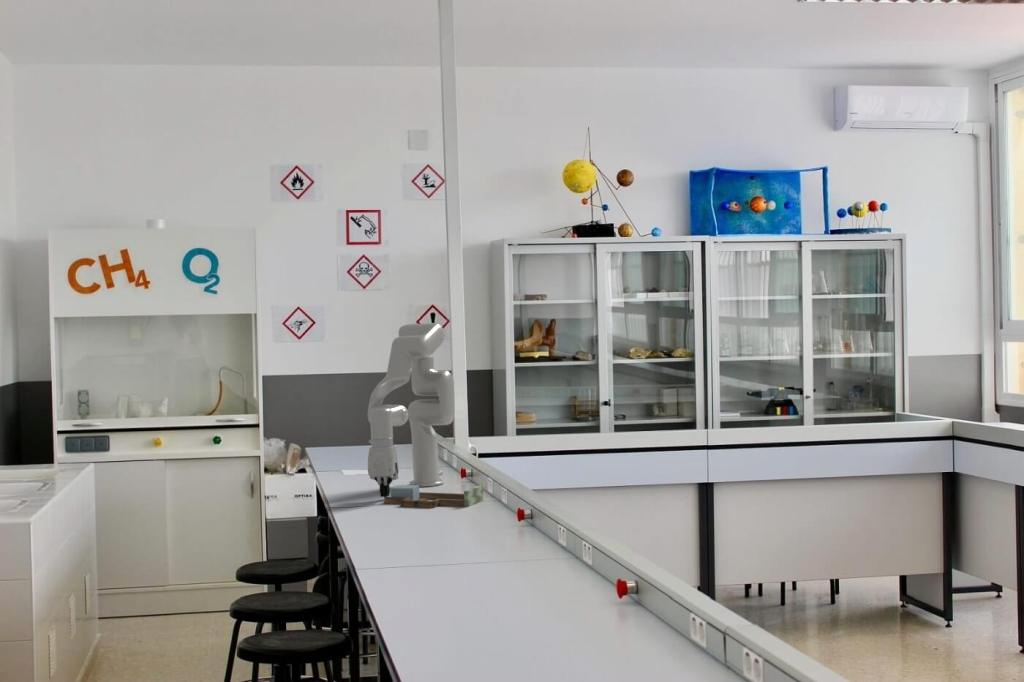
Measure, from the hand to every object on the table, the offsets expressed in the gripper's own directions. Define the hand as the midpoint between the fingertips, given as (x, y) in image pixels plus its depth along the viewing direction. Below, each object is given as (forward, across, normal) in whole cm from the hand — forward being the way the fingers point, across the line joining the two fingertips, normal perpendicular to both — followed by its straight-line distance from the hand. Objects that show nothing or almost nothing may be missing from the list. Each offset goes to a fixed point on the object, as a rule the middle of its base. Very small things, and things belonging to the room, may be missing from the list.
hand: (385, 496), depth 380 cm
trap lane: (+1, +19, -2) cm, 19 cm away
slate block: (+2, +8, 0) cm, 8 cm away
